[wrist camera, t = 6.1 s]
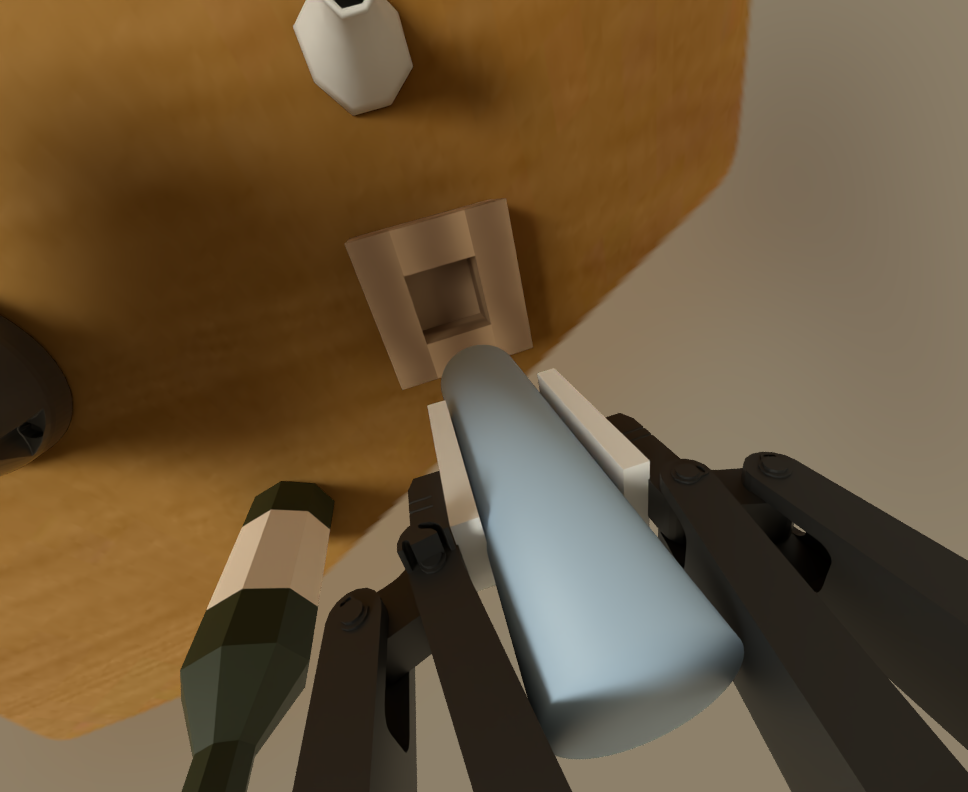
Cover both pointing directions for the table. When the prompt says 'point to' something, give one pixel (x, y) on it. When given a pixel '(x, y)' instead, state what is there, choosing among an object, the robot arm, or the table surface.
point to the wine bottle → (255, 635)
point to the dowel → (580, 574)
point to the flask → (354, 51)
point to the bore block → (443, 287)
